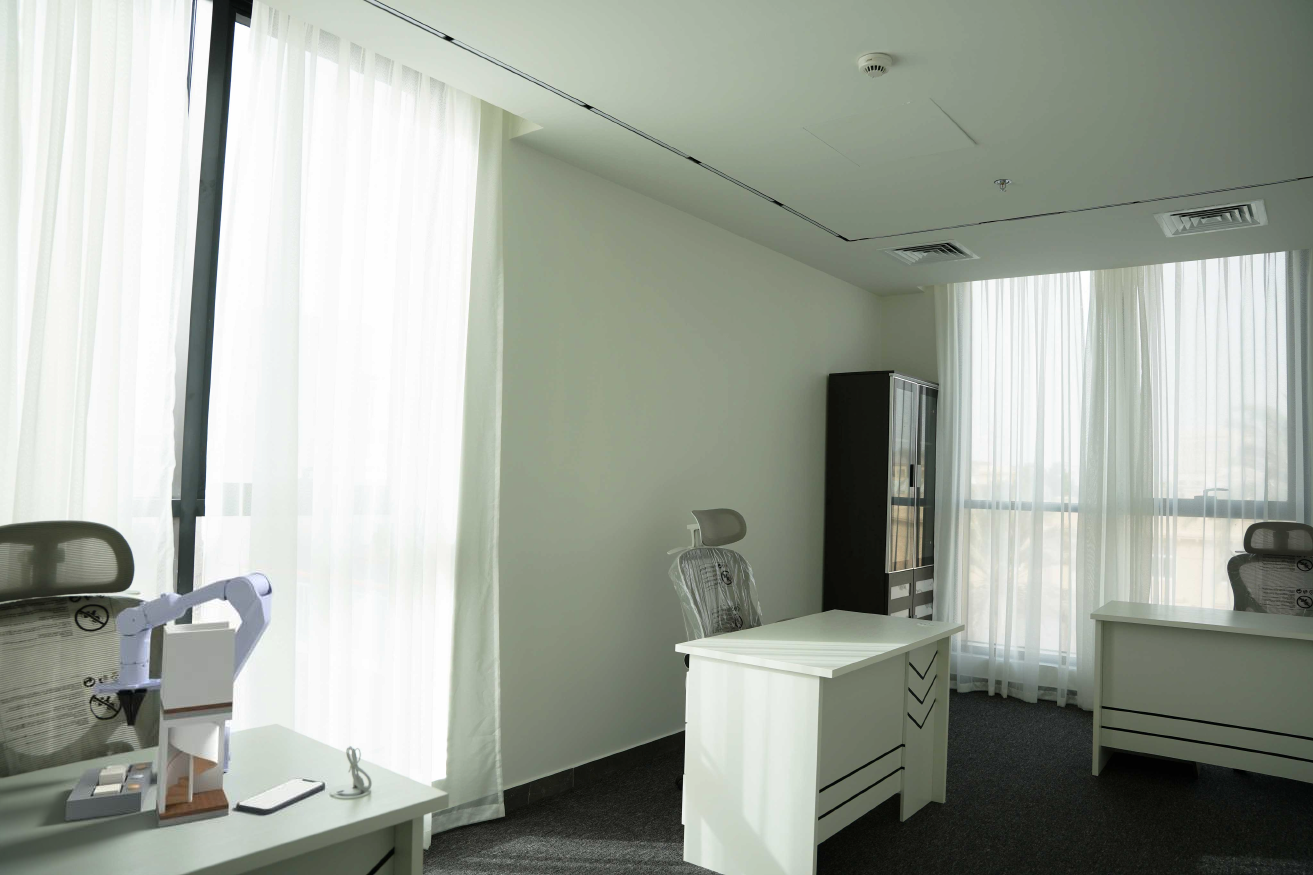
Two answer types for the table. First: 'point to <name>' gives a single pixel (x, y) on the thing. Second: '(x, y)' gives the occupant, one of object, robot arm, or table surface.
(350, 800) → the table surface
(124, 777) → the middle button
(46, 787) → the table surface
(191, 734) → the spiral staircase model
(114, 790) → the button
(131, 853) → the table surface
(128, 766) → the button
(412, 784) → the table surface
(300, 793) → the smartphone
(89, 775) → the button board
